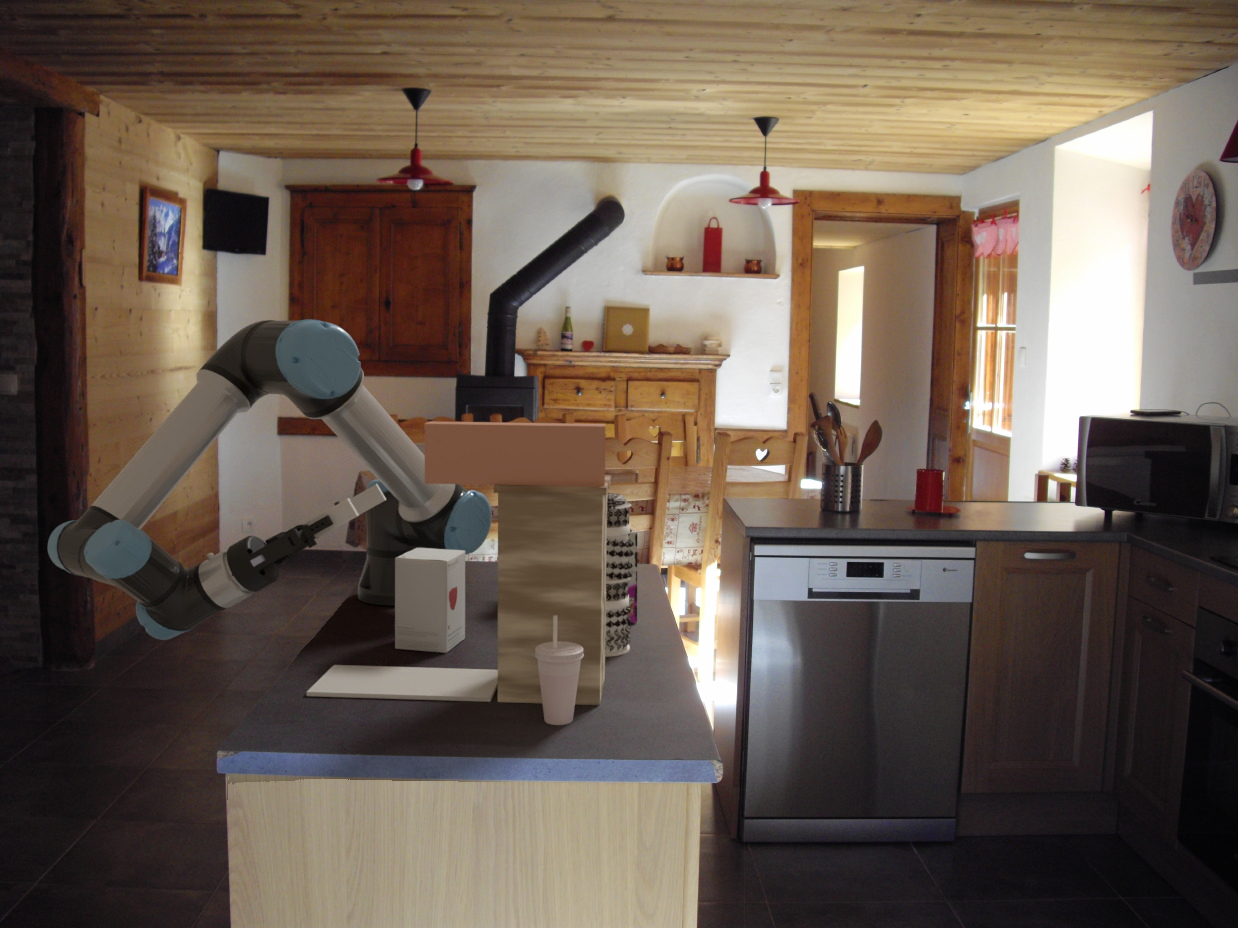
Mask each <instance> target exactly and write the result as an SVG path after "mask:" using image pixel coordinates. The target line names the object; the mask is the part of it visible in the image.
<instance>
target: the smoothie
mask: <svg viewBox="0 0 1238 928" xmlns="http://www.w3.org/2000/svg"><path fill="white" fill-rule="evenodd" d="M583 656H584V654H583V647H582V646H581V645H579V644H576V643H572V642H562V641H557V615H553V642H547V643H543V644H540V645H538V646H537V647H536V648H535V657H536V658H537V660H538V670H539V678H540V686H541V695H542V703H541V704H542V711H543V717H544V722H545V723H546V724H548V725H553V726H565V725H569V724H571V723H572V722H573V721H574V714H575V713H574V712H575V705H576V704H575V700H576V692H577V685H578V678H579V670H580V663H581V658H583Z"/></svg>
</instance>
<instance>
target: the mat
mask: <svg viewBox="0 0 1238 928" xmlns="http://www.w3.org/2000/svg"><path fill="white" fill-rule="evenodd" d="M497 690H498V669H487V668H485V669H482V668H454V667H453V668H450V667H447V668H445V667H418V666H417V667H416V666H415V667H414V666H385V665H384V666H383V665H378V666H377V665H352V664H351V665H348V664H347V665H345V664H344V665H343V664H334V665H332V666H331V667H330V668H329V669H328V670H327V671H326V672H325V673H324V674H323V675H322V676H321V677H320V678H319V679H318V680H317V681H316V682H315V683H314V684H312V686H311V687H310V688H308V690H306V697H322V698H323V697H326V698H329V697H330V698H352V699H354V698H355V699H357V698H360V699H394V700H417V701H418V700H422V701H423V700H424V701H452V702H453V701H456V702H457V701H458V702H485V703H486V702H488V703H491V702H492V699H493V697H494V695H495V693H496V691H497Z"/></svg>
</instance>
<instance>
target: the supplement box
mask: <svg viewBox="0 0 1238 928" xmlns="http://www.w3.org/2000/svg"><path fill="white" fill-rule="evenodd" d="M394 617H395V618H394V648H395V649H396V650H407V651H417V652H418V651H420V652H430V653H431V652H432V653H434V652H435V653H443V654H447V653H448V652H449V651H451V650H452V649H453V648H454V647H456V646H457V645H458V644H460V643H461V642H462V641H463V640H465V639H466V555H465V551H464V550H447V549H432V548H415V549H413V550H411V551H409V552H406V553H404V554H403V555H401V556H398V557H396V558H395V605H394Z"/></svg>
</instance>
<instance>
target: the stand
mask: <svg viewBox="0 0 1238 928" xmlns="http://www.w3.org/2000/svg"><path fill="white" fill-rule="evenodd" d="M611 484H612V474H605V486H561V485H493V494H494V493H495V494H497V670H498V687H497V702H498V703H514V704H515V703H517V704H518V703H519V704H521V703H522V704H523V703H525V704H543V703H542V695H541V686H540V678H539V670H538V660H537V658H536V657H535V648H536V647H537V646H538V645H540V644H543V643H547V642H553V615H557V641H562V642H572V643H576V644H579V645H581V646H582V647H583V654H584V656H583V658H581V663H580V670H579V678H578V685H577V692H576V700H575V705H581V706H582V705H583V706H584V705H585V706H590V705H591V706H600V705H601V701H602V695H603V689H604V685H605V683H604V682H605V679H606V657H605V632H606V563H607V494H608V493H609V489H610V486H611Z"/></svg>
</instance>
